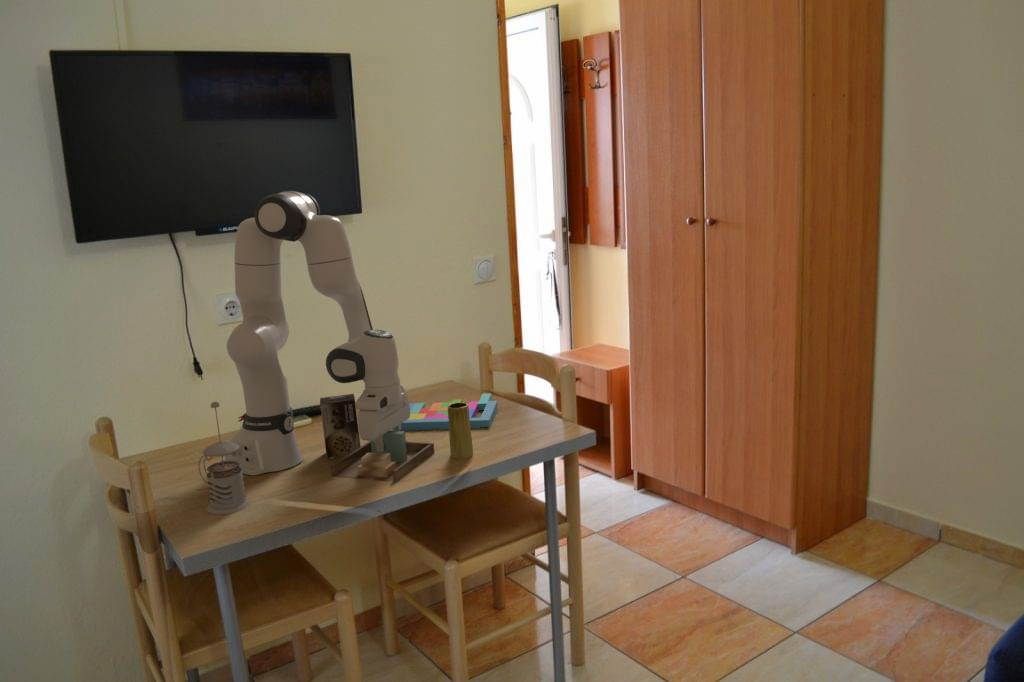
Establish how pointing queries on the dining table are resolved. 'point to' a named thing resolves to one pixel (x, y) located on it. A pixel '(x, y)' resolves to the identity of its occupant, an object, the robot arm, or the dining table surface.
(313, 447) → the dining table surface
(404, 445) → the teal rectangular block
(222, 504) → the french press
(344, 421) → the coffee box
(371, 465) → the offcut top
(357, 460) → the brown wooden tray
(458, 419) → the vase
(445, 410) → the tetris game
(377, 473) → the offcut low
